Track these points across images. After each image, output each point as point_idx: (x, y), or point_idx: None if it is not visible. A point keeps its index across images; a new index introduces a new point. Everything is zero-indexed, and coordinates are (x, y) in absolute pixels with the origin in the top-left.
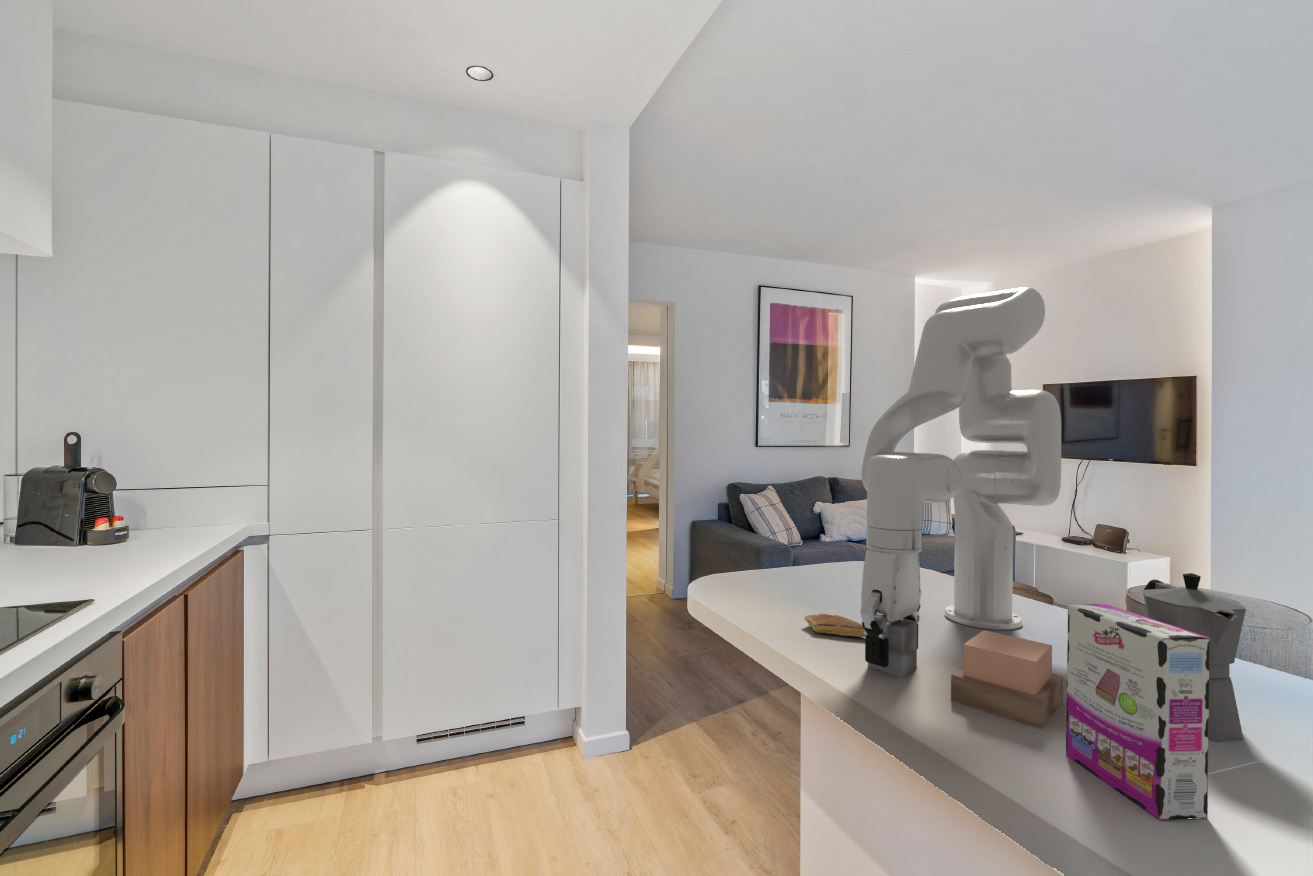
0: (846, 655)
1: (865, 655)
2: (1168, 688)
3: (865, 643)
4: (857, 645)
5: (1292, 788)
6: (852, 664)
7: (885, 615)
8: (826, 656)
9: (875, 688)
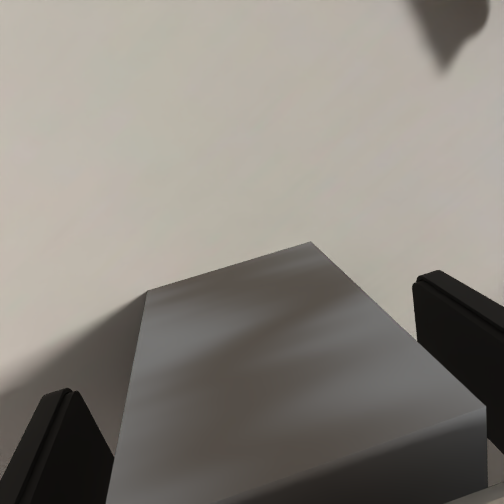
0: (171, 102)
1: (36, 414)
2: None
3: (1, 482)
4: (368, 5)
5: None
6: (103, 223)
7: (442, 451)
8: (28, 46)
9: (8, 456)
